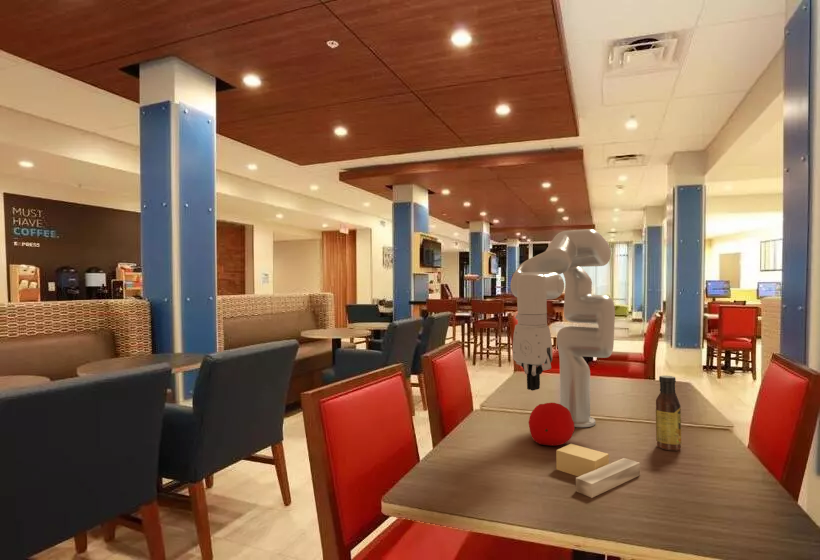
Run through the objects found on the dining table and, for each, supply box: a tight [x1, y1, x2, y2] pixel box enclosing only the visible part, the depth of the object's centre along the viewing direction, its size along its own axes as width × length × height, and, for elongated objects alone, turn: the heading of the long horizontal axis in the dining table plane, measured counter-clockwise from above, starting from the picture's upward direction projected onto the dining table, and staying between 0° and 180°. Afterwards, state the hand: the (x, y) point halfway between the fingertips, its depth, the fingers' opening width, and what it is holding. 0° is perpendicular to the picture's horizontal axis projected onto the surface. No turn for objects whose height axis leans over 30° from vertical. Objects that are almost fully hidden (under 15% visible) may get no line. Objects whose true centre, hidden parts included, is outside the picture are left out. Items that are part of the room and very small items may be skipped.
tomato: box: [528, 402, 575, 446], centre depth 137 cm, size 13×13×13 cm
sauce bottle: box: [655, 375, 682, 452], centre depth 133 cm, size 6×6×20 cm
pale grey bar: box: [575, 457, 641, 499], centre depth 110 cm, size 4×20×3 cm, turn 126°
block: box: [555, 443, 610, 477], centre depth 117 cm, size 10×7×5 cm
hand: (533, 389), depth 126 cm, fingers closed
